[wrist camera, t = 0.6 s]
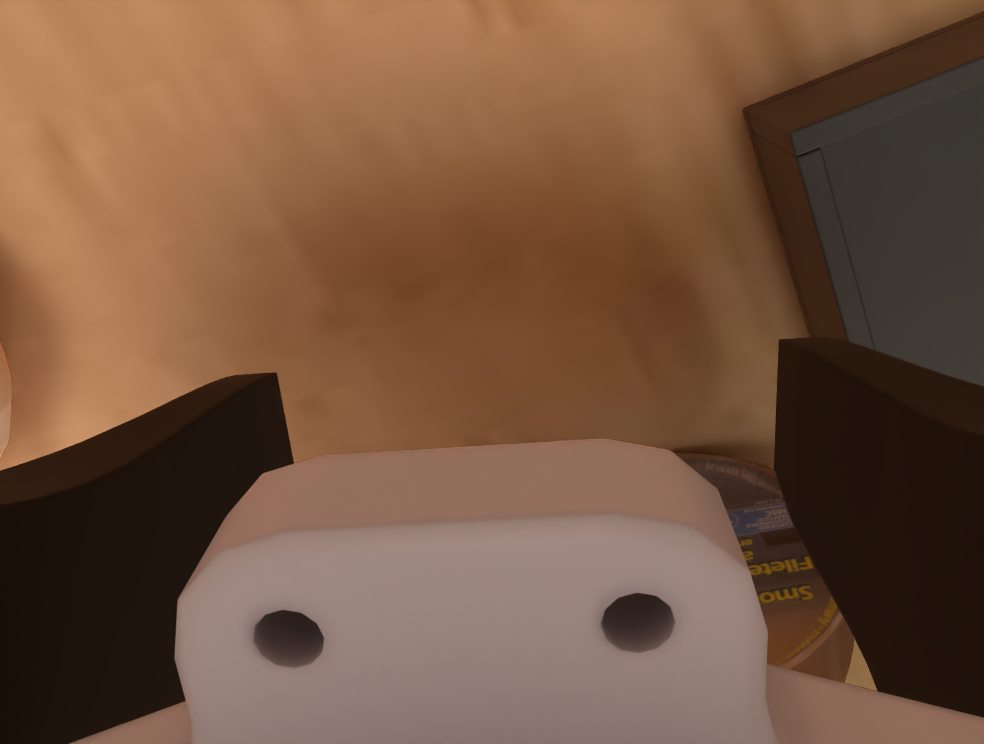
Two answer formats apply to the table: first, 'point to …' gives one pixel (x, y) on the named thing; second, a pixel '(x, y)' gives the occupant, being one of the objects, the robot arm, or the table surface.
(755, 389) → the table surface
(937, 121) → the bin
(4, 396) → the white ball
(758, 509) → the tin
